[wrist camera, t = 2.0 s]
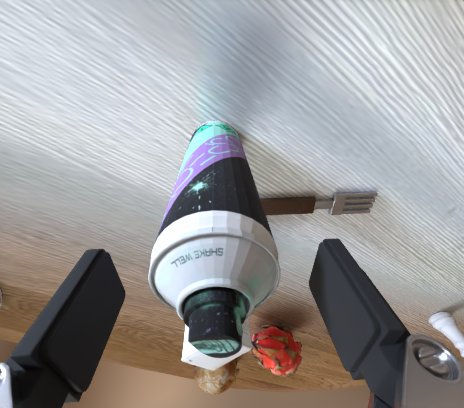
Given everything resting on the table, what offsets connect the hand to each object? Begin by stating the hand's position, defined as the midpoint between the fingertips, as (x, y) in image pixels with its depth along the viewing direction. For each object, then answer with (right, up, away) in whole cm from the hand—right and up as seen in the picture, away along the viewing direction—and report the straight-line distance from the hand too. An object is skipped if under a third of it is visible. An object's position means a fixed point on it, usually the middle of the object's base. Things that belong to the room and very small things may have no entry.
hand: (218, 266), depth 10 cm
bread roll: (-3, -35, +42) cm, 54 cm away
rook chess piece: (+46, -22, +37) cm, 63 cm away
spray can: (-1, +9, +14) cm, 17 cm away
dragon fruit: (+9, -24, +36) cm, 44 cm away
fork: (+11, +3, +19) cm, 22 cm away
